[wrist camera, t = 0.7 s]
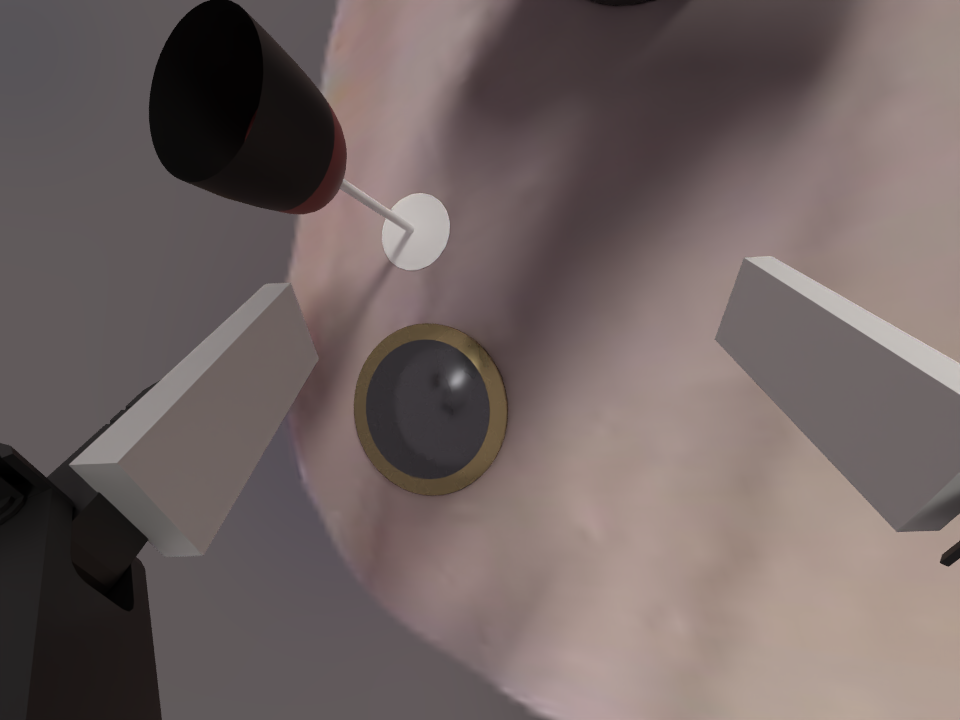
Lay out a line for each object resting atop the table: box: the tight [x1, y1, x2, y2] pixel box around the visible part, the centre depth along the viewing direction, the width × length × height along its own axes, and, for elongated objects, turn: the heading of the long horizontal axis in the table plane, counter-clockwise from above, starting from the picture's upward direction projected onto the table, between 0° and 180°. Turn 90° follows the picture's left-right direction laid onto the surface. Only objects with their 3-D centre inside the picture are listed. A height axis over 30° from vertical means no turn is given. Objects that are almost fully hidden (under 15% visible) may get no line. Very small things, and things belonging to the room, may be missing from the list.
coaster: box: [354, 323, 508, 495], centre depth 36 cm, size 16×16×1 cm
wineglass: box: [149, 0, 450, 270], centre depth 28 cm, size 8×9×20 cm
